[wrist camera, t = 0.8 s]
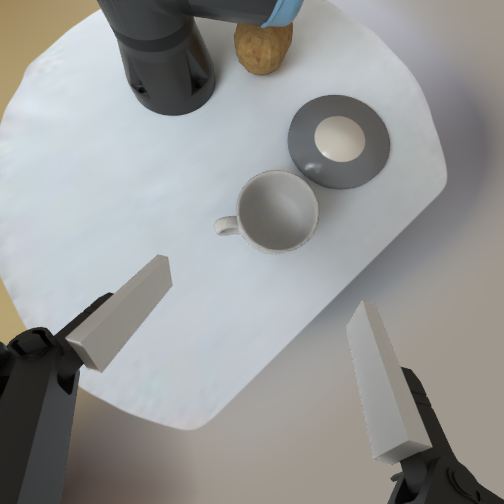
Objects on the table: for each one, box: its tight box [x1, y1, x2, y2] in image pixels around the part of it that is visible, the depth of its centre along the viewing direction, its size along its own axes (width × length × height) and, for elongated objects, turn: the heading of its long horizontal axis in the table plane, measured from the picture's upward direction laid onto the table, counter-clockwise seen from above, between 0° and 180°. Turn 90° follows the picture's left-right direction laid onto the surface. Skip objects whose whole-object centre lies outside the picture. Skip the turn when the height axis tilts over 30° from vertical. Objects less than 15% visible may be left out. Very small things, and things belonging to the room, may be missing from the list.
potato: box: [234, 22, 293, 75], centre depth 34 cm, size 10×14×8 cm
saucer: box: [288, 95, 390, 189], centre depth 35 cm, size 18×18×1 cm
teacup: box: [213, 170, 319, 254], centre depth 29 cm, size 14×11×8 cm
